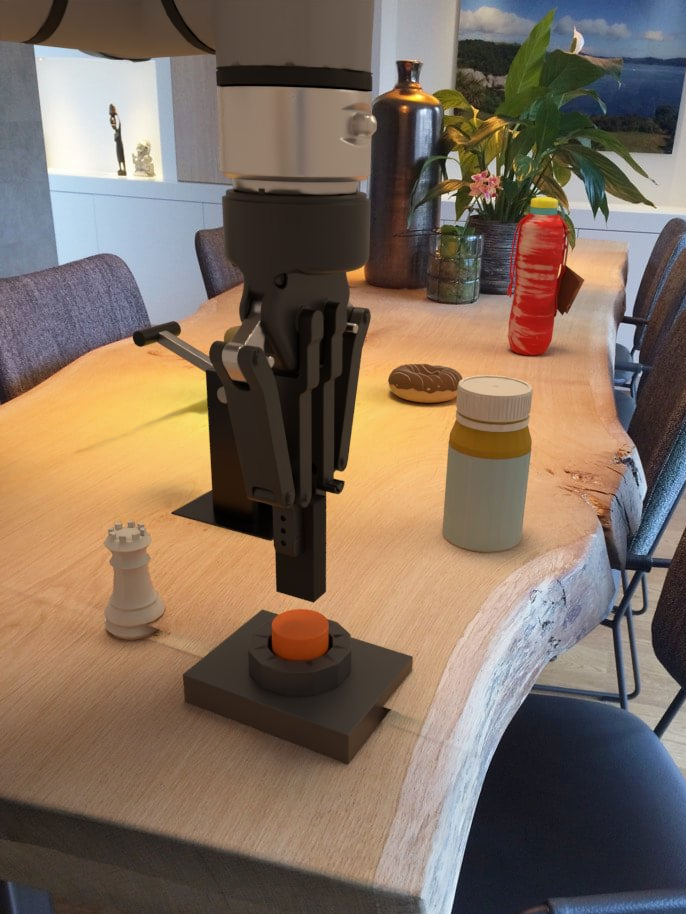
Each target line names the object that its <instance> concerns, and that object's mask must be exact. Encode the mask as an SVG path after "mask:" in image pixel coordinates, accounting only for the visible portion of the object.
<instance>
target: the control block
mask: <svg viewBox="0 0 686 914" xmlns="http://www.w3.org/2000/svg"><path fill="white" fill-rule="evenodd" d="M279 614H280V613H276V612H272V611H269V610H265V609H261V610H259V611H258V612H257V613H256V614H254V615H253V616H252V617H251V618H250V619H249V620H247V621H246V622H245V623H243V624H242V625H241V626H240V627H239V628H237V629H236V630H235V631H234V632H233V633H231V634H230V635H229V636H228V637H226V638H225V639H224V640H223V641H222V642H221V643H219V644H218V645H216V647H214V648H213V649H212V650H211V651H209V652H208V653H207V654H206V655H205V656H203V657H202V658H201V659H200V660H199V661H197V662H196V663H195V664H193V665H192V666H191V667H190V668H188V669H187V670H186V671H185V672H184V673H182V685H183V699H184V703H186V704H190V705H192V706H194V707H197V708H199V709H202V710H205V711H206V712H210V713H213V714H216V715H217V716H220V717H223V718H226V719H228V720H230V721H233V722H236V723H239V724H241V725H243V726H246V727H250V728H252V729H254V730H257V731H260V732H262V733H265V734H267V735H270V736H273V737H274V738H278V739H280V740H283V741H285V742H288V743H291V744H293V745H296V746H298V747H301V748H304V749H306V750H308V751H312V752H314V753H317V754H320V755H322V756H324V757H327V758H330V759H332V760H335V761H337V762H339V763H340V762H341V763H343V764H346V765H349V764H350V763H351V762H352V760H353V759H354V757H356V755H357V754H358V752H359V751H360V750H361V749H362V747H363V746H364V745H365V743H366V742H367V741H368V739H370V737H371V736H372V735H373V733H374V732H375V731H376V730H377V728H378V727H379V726H380V724H381V723H383V720H384V719H385V718H386V716H388V714H389V713H390V712H391V710H392V709H391V708H389V707H386V706H385V705H386V704H387V702H388V701H389V700H390V698H391V697H392V696H393V694H394V693H395V692H396V691H397V689H398V688H399V687H400V686H401V684H402V683H403V682H404V681H405V680H406V678H407V677H408V675H409V674H411V672H412V671H413V664H414V663H413V661H414V657H413V656H412V655H410V654H406V653H404V652H400V651H397V650H394V649H390V648H387V647H383V646H380V645H377V644H374V643H371V642H368V641H364V640H361V639H358V638H355V637H352V636H351V633H350V632H349V631H348V630H346V628H345V627H343V626H342V625H341V624H340V623H339V622H338V621H335V620H332V619H329V618H327V620H328V623H329V641H328V650H327V652H326V653H325V654H324V655H323V656H321V657H318V658H315V659H312V660H309V661H288V660H285V659H282V658H280V657H277V656H276V655H275V654H274V652H273V650H272V622H273V620H274V618H275V617H276V616H278V615H279Z"/></svg>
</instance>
